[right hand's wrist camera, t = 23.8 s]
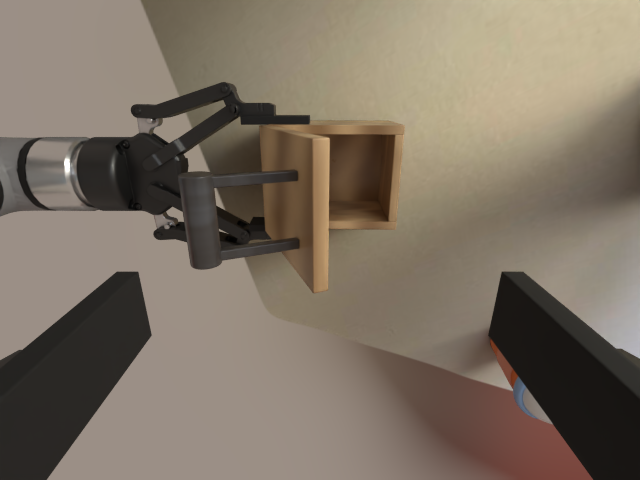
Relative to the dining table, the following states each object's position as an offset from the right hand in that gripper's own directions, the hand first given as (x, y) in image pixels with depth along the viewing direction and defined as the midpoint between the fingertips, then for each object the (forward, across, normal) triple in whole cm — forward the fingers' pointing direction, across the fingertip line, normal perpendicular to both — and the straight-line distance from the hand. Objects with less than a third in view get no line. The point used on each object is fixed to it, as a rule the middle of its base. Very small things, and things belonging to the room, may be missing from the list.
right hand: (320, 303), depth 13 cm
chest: (+32, +2, 0) cm, 32 cm away
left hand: (+25, -1, 0) cm, 25 cm away
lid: (+16, -2, 0) cm, 16 cm away
